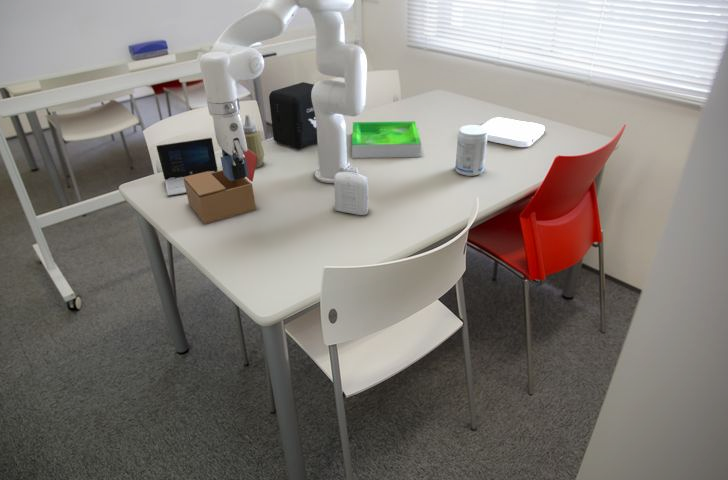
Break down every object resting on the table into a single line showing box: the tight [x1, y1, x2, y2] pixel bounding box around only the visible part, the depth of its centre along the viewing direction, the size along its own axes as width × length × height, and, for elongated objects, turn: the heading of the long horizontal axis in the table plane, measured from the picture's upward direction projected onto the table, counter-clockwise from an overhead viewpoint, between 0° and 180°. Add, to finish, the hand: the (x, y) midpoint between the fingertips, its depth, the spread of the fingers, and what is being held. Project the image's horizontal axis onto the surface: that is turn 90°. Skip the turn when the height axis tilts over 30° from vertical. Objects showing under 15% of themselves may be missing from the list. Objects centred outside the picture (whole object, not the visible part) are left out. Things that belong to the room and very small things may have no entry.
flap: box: [234, 148, 258, 183], centre depth 154 cm, size 8×15×1 cm
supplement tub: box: [454, 124, 488, 177], centre depth 171 cm, size 10×10×15 cm
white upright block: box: [333, 172, 369, 216], centre depth 149 cm, size 10×4×12 cm, turn 69°
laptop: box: [155, 137, 219, 196], centre depth 167 cm, size 18×12×13 cm
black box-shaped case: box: [268, 81, 318, 151], centre depth 197 cm, size 20×15×20 cm
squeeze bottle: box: [242, 114, 265, 169], centre depth 178 cm, size 8×8×18 cm
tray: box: [351, 120, 422, 159], centre depth 196 cm, size 25×25×5 cm
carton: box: [182, 169, 257, 225], centre depth 154 cm, size 16×15×9 cm
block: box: [220, 155, 248, 181], centre depth 134 cm, size 5×5×5 cm
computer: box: [481, 117, 545, 148], centre depth 202 cm, size 22×22×3 cm
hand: (235, 173), depth 136 cm, fingers closed on block, 5 cm apart
